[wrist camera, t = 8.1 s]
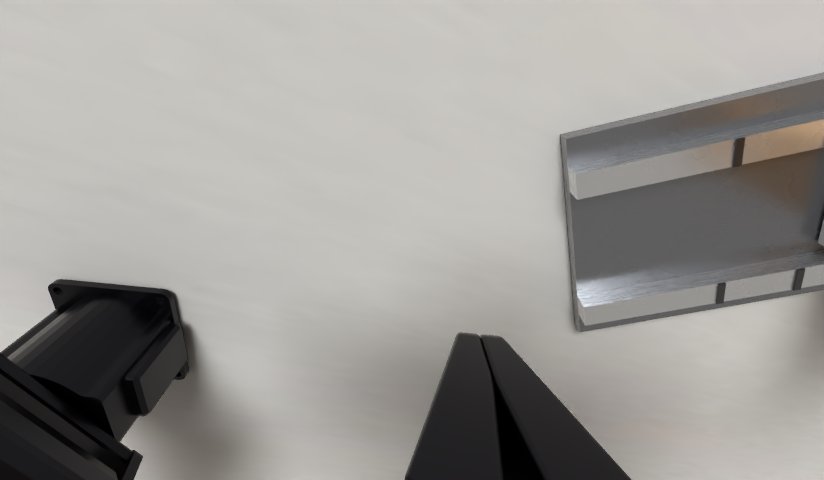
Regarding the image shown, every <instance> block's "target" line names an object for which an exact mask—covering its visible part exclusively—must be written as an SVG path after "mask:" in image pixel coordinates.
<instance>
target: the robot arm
mask: <svg viewBox="0 0 824 480" xmlns="http://www.w3.org/2000/svg"><path fill="white" fill-rule="evenodd" d="M48 290H49V293H50V296H51V298H52V301H53V303H54V306H55V309H56V310H55V311H54V312H52V313H51V314H50V315H49V316H47V317H46V318H45V319H43V320H42V321H41V322H39V323H38V324H37V325H36V326H34V327H33V328H32V329H30V330H29V331H28V332H26V333H25V334H24V335H23V336H21V337H20V338H19V339H17V340H16V341H15V342H14V343H12V344H11V345H10V346H8V347H7V348H6V349H4V350H3V351H2V352H1V353H0V480H134V477H135V475H136V473H137V470H138V468H139V465H140V463H141V461H142V458H143V456H142V455H141V454H139V453H138V452H137V451H135V450H132V451H131V450H130V449H129V448H127V447H126V446H125V445H123V444H122V443H121V442H120V441H121V440H122V438H123V437H124V435H125V434H126V433H127V431H128V430H129V429H130V427H131V426H132V424H133V423H134V422H135V420H136V419H137V418H138V416H146V415H147V414H148V413H150V412H151V410H152V409H153V407H154V406H155V405H156V403H157V402H158V400H159V399H160V398H161V396H162V395H163V393H164V392H165V390H166V389H167V388H168V386H169V385H170V383H171V382H172V380H173V379H177V380H181V379H184V378H185V376H186V375H187V373H188V372H189V368H188V363H187V358H188V357H187V352H186V348H185V343H184V338H183V333H182V328H181V326H180V324H179V320H178V315H177V310H176V305H175V300H174V296H173V294H172V293H171V292H169V291H168V290H165V289H156V288H146V287H135V286H125V285H115V284H104V283H94V282H83V281H73V280H62V279H59V280H56V281H54V282H53V283H52V284H50V285H49V287H48ZM161 297H162V298H163V299H165V300H163V299H162V298H161ZM405 480H631V479H630V478H629V476H628V475H627V474H626V473H625V472H624V471H623V470H622V469H621V468H620V467H619V465H618V464H617V463H616V462H615V461H614V460H613V459H612V458H611V457H610V456H609V454H608V453H607V452H606V451H605V450H604V449H603V448H602V447H601V446H600V444H599V443H598V442H597V441H596V440H595V439H594V438H593V437H592V436H591V435H590V433H589V432H588V431H587V430H586V429H585V428H584V427H583V426H582V425H581V424H580V422H579V421H578V420H577V419H576V418H575V417H574V416H573V415H572V414H571V413H570V411H569V410H568V409H567V408H566V407H565V406H564V405H563V404H562V403H561V402H560V400H559V399H558V398H557V397H556V396H555V395H554V394H553V393H552V392H551V391H550V389H549V388H548V387H547V386H546V385H545V384H544V383H543V382H542V381H541V380H540V378H539V377H538V376H537V375H536V374H535V373H534V372H533V371H532V370H531V368H530V367H529V366H528V365H527V364H526V363H525V362H524V361H523V360H522V359H521V357H520V356H519V355H518V354H517V353H516V352H515V351H514V350H513V349H512V348H511V346H510V345H509V344H508V343H507V342H506V341H505V340H504V339H503V338H502V337H500V336H493V335H481V336H478V335H477V334H472V333H461V332H460V333H458V334H457V336H456V338H455V341H454V344H453V346H452V349H451V352H450V355H449V357H448V360H447V363H446V366H445V368H444V371H443V374H442V377H441V379H440V382H439V385H438V388H437V390H436V393H435V396H434V399H433V401H432V404H431V407H430V410H429V412H428V415H427V418H426V421H425V423H424V426H423V429H422V432H421V434H420V437H419V440H418V443H417V445H416V448H415V451H414V453H413V456H412V459H411V462H410V464H409V467H408V470H407V473H406V475H405Z"/></svg>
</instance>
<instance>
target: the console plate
mask: <svg viewBox="0 0 824 480" xmlns="http://www.w3.org/2000/svg"><path fill="white" fill-rule="evenodd" d="M560 138H561V151H562V164H563V177H564V189H565V202H566V215H567V228H568V241H569V253H570V266H571V279H572V292H573V305H574V317H575V324H576V326H577V328H578V329H579V331H580V332H583V331H589V330H594V329H600V328H606V327H612V326H617V325H623V324H629V323H635V322H641V321H646V320H652V319H658V318H664V317H669V316H675V315H681V314H687V313H693V312H698V311H704V310H710V309H716V308H721V307H727V306H733V305H739V304H745V303H750V302H756V301H762V300H768V299H773V298H779V297H785V296H791V295H797V294H802V293H808V292H814V291H820V290H824V246H823V245H821V244H819V243H818V240H819V236H820V232H821V228H822V224H823V220H824V73H820V74H816V75H812V76H808V77H803V78H799V79H795V80H791V81H786V82H782V83H778V84H774V85H769V86H765V87H761V88H756V89H752V90H748V91H744V92H739V93H735V94H731V95H727V96H722V97H718V98H714V99H710V100H705V101H701V102H697V103H693V104H688V105H684V106H680V107H676V108H671V109H667V110H663V111H659V112H654V113H650V114H646V115H641V116H637V117H633V118H629V119H624V120H620V121H616V122H612V123H607V124H603V125H599V126H595V127H590V128H586V129H582V130H578V131H573V132H569V133H565V134H561V135H560Z"/></svg>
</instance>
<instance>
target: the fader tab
mask: <svg viewBox="0 0 824 480" xmlns="http://www.w3.org/2000/svg"><path fill="white" fill-rule="evenodd" d="M818 243H819V244H821V245H823V246H824V220H823V224H822V228H821V232H820V236H819V240H818Z"/></svg>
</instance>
